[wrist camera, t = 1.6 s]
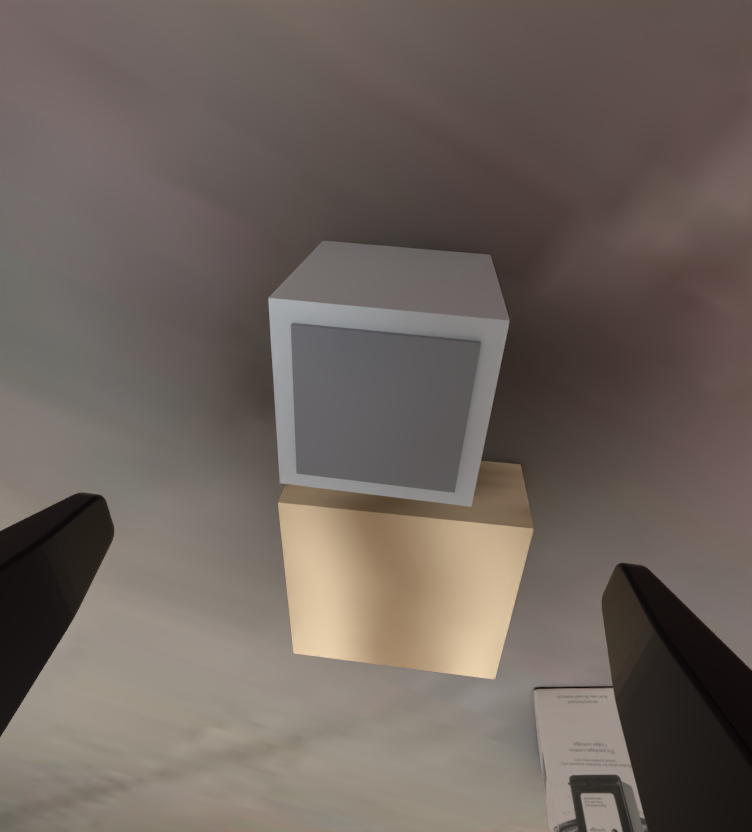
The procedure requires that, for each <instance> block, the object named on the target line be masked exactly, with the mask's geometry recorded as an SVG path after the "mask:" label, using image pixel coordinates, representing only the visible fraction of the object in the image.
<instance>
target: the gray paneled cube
mask: <svg viewBox="0 0 752 832" xmlns="http://www.w3.org/2000/svg"><path fill="white" fill-rule="evenodd" d="M268 302H269V318H270V334H271V350H272V366H273V382H274V398H275V414H276V430H277V446H278V462H279V478H280V483H283V484H291V485H299V486H307V487H315V488H323V489H331V490H339V491H348V492H356V493H364V494H372V495H380V496H388V497H396V498H404V499H413V500H421V501H429V502H437V503H445V504H453V505H461V506H469V507H472V502H473V497H474V492H475V487H476V482H477V477H478V473H479V468H480V463H481V458H482V453H483V448H484V443H485V439H486V434H487V429H488V424H489V419H490V414H491V409H492V405H493V400H494V395H495V390H496V385H497V380H498V375H499V371H500V366H501V361H502V356H503V351H504V346H505V341H506V337H507V332H508V327H509V322H510V320H509V316H508V313H507V309H506V306H505V303H504V299H503V296H502V292H501V289H500V285H499V282H498V279H497V275H496V272H495V268H494V265H493V262H492V258H491V255H488V254H476V253H464V252H452V251H440V250H428V249H416V248H405V247H393V246H381V245H369V244H357V243H345V242H334V241H322V242H321V243H320V244H319V245H318V246H317V247H316V248H315V250H314V251H313V252H312V253H311V254H310V255H309V256H308V257H307V258H306V259H305V260H304V261H303V262H302V263H301V264H300V265H299V266H298V267H297V268H296V269H295V270H294V271H293V272H292V274H291V275H290V276H289V277H288V278H287V279H286V280H285V281H284V282H283V283H282V284H281V285H280V286H279V287H278V288H277V289H276V290H275V291H274V292H273V293H272V294H271V295H270V296H269V298H268Z"/></svg>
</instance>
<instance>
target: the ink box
mask: <svg viewBox="0 0 752 832" xmlns="http://www.w3.org/2000/svg"><path fill="white" fill-rule="evenodd" d="M534 704H535V717H536V728H537V739H538V750H539V760H540V767H541V774H542V781H543V788H544V795H545V802H546V809H547V817H548V824H549V831H550V832H648V830H647V826H646V822H645V818H644V814H643V810H642V806H641V802H640V798H639V794H638V790H637V786H636V782H635V778H634V774H633V770H632V766H631V762H630V758H629V755H628V751H627V747H626V743H625V739H624V735H623V731H622V727H621V723H620V719H619V715H618V710H617V706H616V702H615V696H614V690H613V688H555V689H536V690H534Z"/></svg>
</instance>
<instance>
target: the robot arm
mask: <svg viewBox="0 0 752 832" xmlns="http://www.w3.org/2000/svg"><path fill="white" fill-rule="evenodd" d="M113 537H114V525H113V522H112V519H111V516H110V512H109V509H108V506H107V503H106V500H105V498H104V497H103V496H101V495H98V494H90V493H77V494H74V495H72V496H70V497H68V498H66V499H64V500H62V501H60V502H58V503H56V504H54V505H52V506H50V507H48V508H46V509H44V510H42V511H40V512H38V513H36V514H34V515H32V516H30V517H28V518H26V519H24V520H22V521H20V522H18V523H16V524H14V525H12V526H10V527H8V528H5V529H3V530H1V531H0V737H1V735H2V733H3V732H4V730H5V729H6V727H7V725H8V724H9V722H10V721H11V719H12V717H13V716H14V714H15V713H16V711H17V709H18V708H19V706H20V704H21V703H22V701H23V700H24V698H25V696H26V695H27V693H28V692H29V690H30V688H31V687H32V685H33V684H34V682H35V680H36V679H37V677H38V675H39V674H40V672H41V671H42V669H43V667H44V666H45V664H46V663H47V661H48V659H49V658H50V656H51V655H52V653H53V651H54V650H55V648H56V647H57V645H58V643H59V642H60V640H61V638H62V637H63V635H64V634H65V632H66V630H67V629H68V627H69V625H70V624H71V622H72V620H73V619H74V617H75V615H76V613H77V611H78V609H79V607H80V605H81V603H82V601H83V599H84V597H85V595H86V593H87V591H88V589H89V587H90V585H91V583H92V581H93V579H94V577H95V575H96V573H97V571H98V569H99V567H100V565H101V563H102V561H103V559H104V557H105V555H106V553H107V551H108V549H109V547H110V545H111V542H112V540H113ZM602 613H603V620H604V628H605V635H606V642H607V649H608V656H609V663H610V670H611V677H612V684H613V690H614V696H615V702H616V706H617V710H618V715H619V719H620V723H621V727H622V731H623V735H624V739H625V743H626V747H627V751H628V755H629V758H630V762H631V766H632V770H633V774H634V778H635V782H636V786H637V790H638V794H639V798H640V802H641V806H642V810H643V814H644V818H645V822H646V826H647V830H648V832H752V670H751V669H750V668H749V667H748V666H747V665H746V664H745V663H744V662H743V661H742V660H741V659H740V658H739V657H738V656H737V655H736V654H735V653H734V652H733V651H732V650H731V649H729V648H728V647H727V646H726V645H725V644H724V643H723V642H722V641H721V640H720V639H719V638H718V637H717V636H716V635H715V634H714V633H713V632H712V631H711V630H710V629H709V628H708V627H707V626H706V625H705V624H704V623H703V622H702V621H701V620H700V619H699V618H698V617H697V616H696V615H695V614H694V613H693V612H692V611H691V610H690V609H689V608H688V607H687V606H686V605H685V604H684V603H683V602H682V601H681V600H680V599H679V598H678V597H677V596H676V595H675V594H673V593H672V592H671V591H670V590H669V589H668V588H667V587H666V586H665V585H664V584H663V583H662V582H661V581H660V580H659V579H658V578H657V577H656V576H655V575H654V574H653V573H652V572H651V571H650V570H649V569H648V568H646V567H645V566H642V565H635V564H627V563H619V564H618V565H617V566H616V567H615V569H614V571H613V573H612V575H611V577H610V580H609V582H608V584H607V586H606V589H605V591H604V593H603V596H602Z"/></svg>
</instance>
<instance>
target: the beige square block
mask: <svg viewBox="0 0 752 832" xmlns="http://www.w3.org/2000/svg"><path fill="white" fill-rule="evenodd" d="M278 508H279V518H280V527H281V537H282V547H283V556H284V566H285V575H286V585H287V594H288V604H289V614H290V623H291V633H292V642H293V652H294V653H296V654H303V655H311V656H319V657H326V658H334V659H342V660H349V661H357V662H365V663H373V664H380V665H388V666H396V667H403V668H411V669H419V670H426V671H434V672H442V673H449V674H457V675H465V676H473V677H480V678H488V679H495V677H496V673H497V669H498V665H499V661H500V657H501V654H502V650H503V646H504V642H505V638H506V634H507V630H508V627H509V623H510V619H511V615H512V611H513V607H514V603H515V600H516V596H517V592H518V588H519V584H520V580H521V576H522V573H523V569H524V565H525V561H526V557H527V553H528V550H529V546H530V542H531V538H532V534H533V530H534V527H533V522H532V517H531V512H530V507H529V502H528V498H527V493H526V488H525V483H524V478H523V474H522V469H521V464H511V463H501V462H490V461H481V463H480V468H479V473H478V477H477V482H476V487H475V492H474V497H473V502H472V507H469V506H461V505H453V504H445V503H437V502H429V501H421V500H413V499H404V498H396V497H388V496H380V495H372V494H364V493H356V492H348V491H339V490H331V489H323V488H315V487H307V486H299V485H291V484H286V485H285V487H284V490H283V492H282V494H281V496H280V499H279V501H278Z"/></svg>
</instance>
